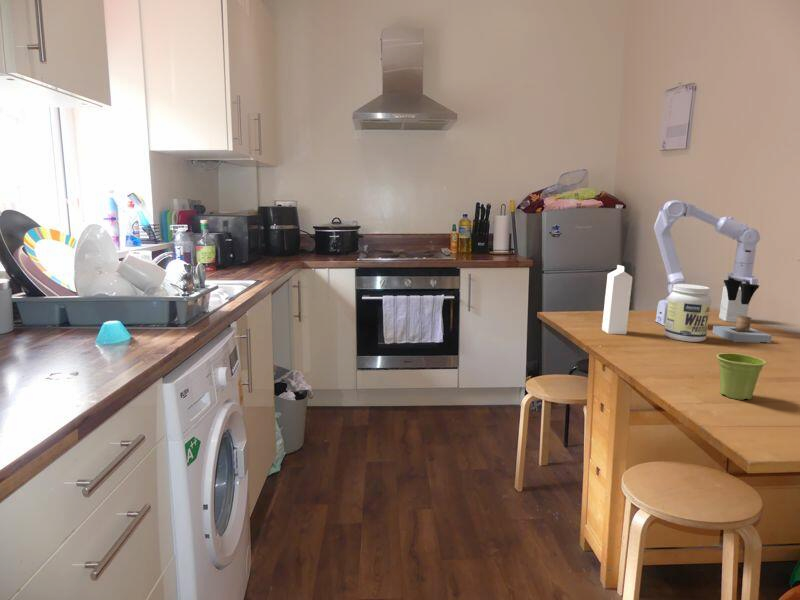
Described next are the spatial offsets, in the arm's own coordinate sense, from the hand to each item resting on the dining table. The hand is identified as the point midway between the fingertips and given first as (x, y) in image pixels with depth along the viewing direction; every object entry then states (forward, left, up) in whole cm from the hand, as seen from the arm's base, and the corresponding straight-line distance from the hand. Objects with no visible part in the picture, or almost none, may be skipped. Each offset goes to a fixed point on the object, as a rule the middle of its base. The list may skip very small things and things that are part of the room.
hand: (738, 302), depth 195 cm
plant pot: (-42, -71, -10) cm, 83 cm away
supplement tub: (-25, -15, -10) cm, 31 cm away
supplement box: (+10, +18, -10) cm, 23 cm away
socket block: (-5, -12, -10) cm, 16 cm away
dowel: (-5, -12, -10) cm, 16 cm away
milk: (-46, -10, -10) cm, 48 cm away
